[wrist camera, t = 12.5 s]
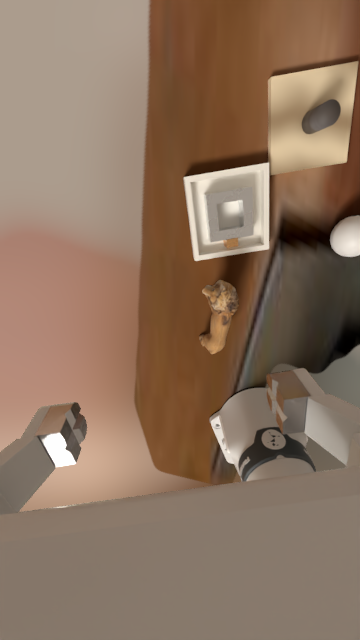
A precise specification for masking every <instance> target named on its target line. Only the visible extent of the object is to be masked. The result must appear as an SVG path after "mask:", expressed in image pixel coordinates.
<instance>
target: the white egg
mask: <svg viewBox="0 0 360 640" xmlns="http://www.w3.org/2000/svg"><path fill="white" fill-rule="evenodd" d="M330 244H331V247H332V249H333V250H334V251H335V252H336V253H338V254H339V255H341V256H347V257H354V256H359V255H360V215H354V216H351V217H347V218H345V219H343V220H342V221H340V222H339V223H338V224H337V225H336V226H335V227H334V229H333V230H332V232H331V235H330Z"/></svg>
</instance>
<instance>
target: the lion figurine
mask: <svg viewBox="0 0 360 640" xmlns="http://www.w3.org/2000/svg"><path fill="white" fill-rule="evenodd" d="M203 293H204V294H205V296H206V297H207V299H208V300H209V305H210V308H211V310H212V316H211V324H210V328H211V332H210V333H209V334H206V335H204V334H202V335H200V336H199V339H200V341H201V344H202V345H203V346H205V347H206V348H207V349H208V350H209V352H210V353H211V354H215V353H216V352H219V351H221V350H222V349H223V347H224V346H225V343H226V336H227V333H228V330H229V327H230V324H231V319H232V315H234V314H235V311H237V309H238V305H239V303H238V299H239V298H238V296H237V292H236V289H235V288H234V287H233V286H232V285H231V284H230V283H227V282H225V281H223V280H219V281H218V282H216V284H215V285H214V286H211V285H207V286H206V287H205V288H204V289H203Z"/></svg>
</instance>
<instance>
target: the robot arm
mask: <svg viewBox="0 0 360 640" xmlns="http://www.w3.org/2000/svg"><path fill="white" fill-rule="evenodd" d="M266 381H267V383H268V385H269V387H268V388H252V389H247V390H244V391H242V392H239V393H237V394H236V395H234V396H232V397H231V398H230V399H229V400H228V401H227V402H226V403H225V404H224V406H223V407H222V409H221V410H220V411H218V412H217V413H215V414H214V415H212V416H211V417H210V423H211V426H212V428H213V430H214V432H215V435H216V437H217V439H218V442H219V444H220V446H221V449H222V451H223V453H224V456H225V458H226V460H227V462H229V463H232V464H235V467H236V469H237V471H238V473H239V475H240V477H241V480H242V482H238V483H230V484H223V485H216V486H208V487H201V488H194V489H186V490H179V491H171V492H164V493H157V494H149V495H142V496H135V497H128V498H120V499H112V500H105V501H98V502H90V503H84V504H76V505H68V506H61V507H54V508H46V509H39V510H32V511H24V512H19V511H20V509H21V508H22V507H23V506H24V505H25V503H26V502H27V501H28V500H29V499H30V498H31V496H32V495H33V494H34V493H35V492H36V490H37V489H38V488H39V487H40V486H41V485H42V483H43V482H44V481H45V480H46V479H47V477H49V475H50V474H51V473H52V472H53V471H54V469H55V467H58V466H65V465H71V464H76V462H77V459H78V456H79V454H80V451H81V447H80V445H79V444H80V443H81V442H82V441H83V440H84V439H85V435H86V431H87V424H86V420H85V417H84V416H83V415H81V414H80V413H79V412H80V409H81V408H80V406H79V404H78V403H75V402H74V403H66V404H57V405H52V406H43V407H41V408H39V409H38V411H37V412H36V414H35V415H34V417H33V419H32V420H31V422H30V424H29V425H28V427H27V429H26V430H25V432H24V433H23V435H22V437H21V438H20V439H16V440H15V441H14V442H13V443H11V444H10V445H9V446H7V447H6V448H5V449H3V450H2V451H1V452H0V640H360V408H358V407H356V406H354V405H352V404H350V403H348V402H345V401H344V400H341V399H339V398H337V397H335V396H333V395H331V394H325V393H324V391H323V390H322V389H321V388H320V387H319V385H318V384H317V383H316V381H315V380H314V379H313V378H312V376H311V375H310V374H309V373H308V371H307V370H306V369H304V368H299V369H294V370H289V371H282V372H276V373H269V374H267V380H266ZM306 435H308V436H309V437H310V438H312V439H313V440H314V441H316V442H317V443H318V444H319V445H321V446H322V447H323V448H325V449H326V450H327V451H328V452H330V453H331V454H332V455H333V456H335V457H336V458H337V459H339V460H340V461H341V462H343V463H344V464H345V465H346V468H341V469H334V470H326V471H318V472H316V469H315V466H314V464H313V461H312V459H311V457H310V455H309V454H308V452H307V451H306V449H305V447H306V444H307V441H308V438H307V436H306Z"/></svg>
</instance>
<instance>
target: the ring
mask: <svg viewBox="0 0 360 640" xmlns="http://www.w3.org/2000/svg"><path fill="white" fill-rule="evenodd" d="M232 201H238V205H239V225H236V226H231V227H225V228H219V223H218V212H217V204H221V203H226V202H232ZM204 204H205V213H206V223H207V232H208V240H209V241H210V242H216V241H222V240H223V242H224V246H225V247H226V248H231V247H236V246H238V238H240V237H246V236H251V235H254V228H253V193H252V187H246V188H240V189H234V190H229V191H223V192H217V193H212V194H206V195H204Z"/></svg>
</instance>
